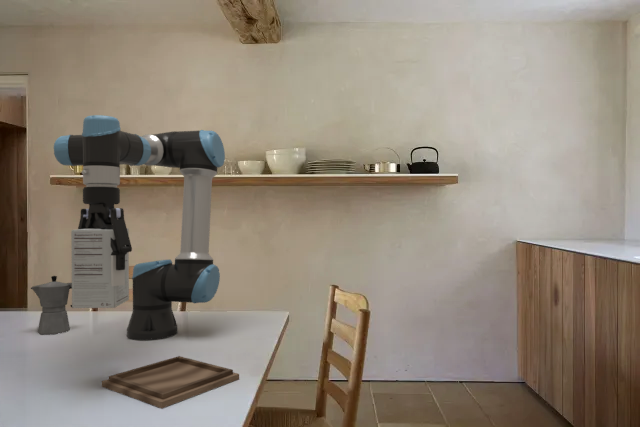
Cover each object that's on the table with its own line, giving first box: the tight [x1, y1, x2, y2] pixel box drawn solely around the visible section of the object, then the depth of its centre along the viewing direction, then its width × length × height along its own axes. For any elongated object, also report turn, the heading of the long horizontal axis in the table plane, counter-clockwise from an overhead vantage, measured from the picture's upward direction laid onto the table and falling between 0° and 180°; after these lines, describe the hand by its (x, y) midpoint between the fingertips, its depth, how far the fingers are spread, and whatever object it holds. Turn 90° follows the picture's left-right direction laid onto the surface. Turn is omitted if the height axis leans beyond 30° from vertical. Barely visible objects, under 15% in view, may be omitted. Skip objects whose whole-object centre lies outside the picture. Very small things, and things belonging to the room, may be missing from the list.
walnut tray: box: [101, 355, 240, 409], centre depth 110 cm, size 21×21×2 cm
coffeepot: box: [30, 275, 72, 336], centre depth 160 cm, size 15×9×18 cm, turn 113°
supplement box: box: [70, 227, 130, 309], centre depth 109 cm, size 10×9×17 cm
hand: (101, 283), depth 109 cm, fingers closed on supplement box, 13 cm apart
